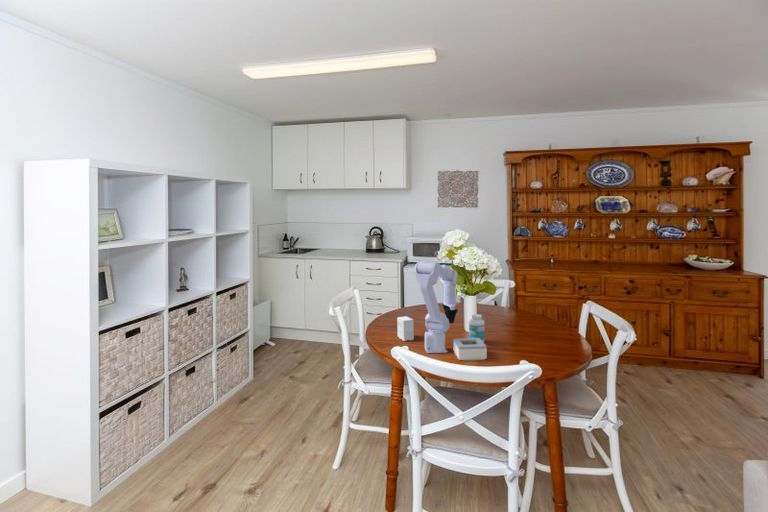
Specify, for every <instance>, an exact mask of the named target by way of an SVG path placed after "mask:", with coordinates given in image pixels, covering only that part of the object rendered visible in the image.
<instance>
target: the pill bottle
mask: <svg viewBox="0 0 768 512" xmlns="http://www.w3.org/2000/svg"><path fill="white" fill-rule="evenodd" d="M468 321H469V322H468V338H480V339H481V340H482V342H483V343H484V344H485V328H486V327H485V325H486V322H485V320H484V319H483V315H482V314H481V313H474V314H472V315H471V319H469V320H468Z"/></svg>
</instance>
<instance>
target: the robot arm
mask: <svg viewBox="0 0 768 512" xmlns="http://www.w3.org/2000/svg"><path fill="white" fill-rule="evenodd" d="M414 275H415V278H416V281H417V283H418V284H419V288H420V290H421V294H422V297H423V301H424V303H425V307H426V310H427V312H428V313H427V314H426V315H425V318H424V320H425V322H424V323H425V328H426V330H427V331H425V332H424V350H425V352H426V353H427V354H436V353H437V354H439V353H440V354H441V353H442V354H443V353H448V350H447V348H446V333H447V332H448V330H449V329H450V324H454V322H455V319H456V315H457V313H458V310H459V309H457V308H456V305H459V301H456V298H457V296H456V295H457V294H456V293H457V292H456V291H457V289H456V287H457V286H456V285H457V282H458V281H457V280H458V271H457V270H455V269H451V268H450V267H448V266H447V264H442V265H441V263H440V262H431V261H428V262H427V261H417V262H416V263H415V266H414ZM439 278H441V280H442V281H443V303H442V304H441V306H442V309H443V310H444V313H443V312H441V310H440V306H439V304H438V299H437V297H436V292H435V290H434V286H435V285H436V284H437V283H438V280H439Z"/></svg>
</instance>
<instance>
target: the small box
mask: <svg viewBox="0 0 768 512" xmlns="http://www.w3.org/2000/svg"><path fill="white" fill-rule="evenodd" d="M396 320H397V321H396V322H397V324H396V325H397V326H396V327H397V338H398V337H399V339H400V340H401V339H402V340H401V341H403V342H408V341H407V340H409V341H414V339H415V335H414V331H415V330H414V326H415V324H414V319H413V318H411V317H409V316H407V315H405V316H399V317H397V318H396Z"/></svg>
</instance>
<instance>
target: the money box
mask: <svg viewBox="0 0 768 512" xmlns="http://www.w3.org/2000/svg"><path fill="white" fill-rule="evenodd" d="M452 341H453V343H452V344H453V345H452V347H453V348H452V350H453V351H454V352H453V354H454V355H455V356H457V357H456V358H457V360H458V359H459V360H463V361H486V360H485V359H487V352H488V351H487V349H488V347H487V344H486V343H485V342H484V343H483V342H482V340H481V339H480V338H469V337H465V338H459V337H458V338H453V339H452ZM463 344H470V345H463ZM459 360H458V361H459Z"/></svg>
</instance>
